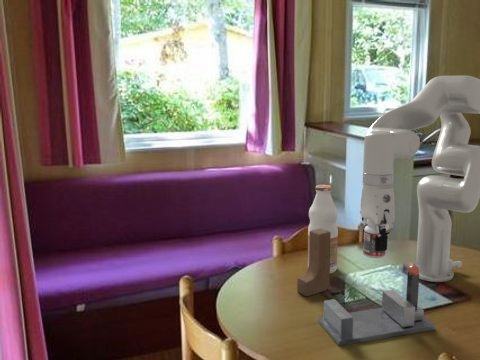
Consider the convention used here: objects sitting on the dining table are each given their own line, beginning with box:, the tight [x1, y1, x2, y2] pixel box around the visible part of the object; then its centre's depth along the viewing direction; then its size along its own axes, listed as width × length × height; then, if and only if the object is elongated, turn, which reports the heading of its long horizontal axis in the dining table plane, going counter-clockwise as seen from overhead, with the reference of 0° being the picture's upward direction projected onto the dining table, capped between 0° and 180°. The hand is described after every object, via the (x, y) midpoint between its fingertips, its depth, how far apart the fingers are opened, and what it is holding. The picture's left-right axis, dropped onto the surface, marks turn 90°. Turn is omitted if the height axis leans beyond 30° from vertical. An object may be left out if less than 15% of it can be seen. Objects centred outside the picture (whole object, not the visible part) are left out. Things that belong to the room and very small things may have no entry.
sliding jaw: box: [381, 264, 425, 327], centre depth 124 cm, size 7×10×14 cm
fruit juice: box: [307, 184, 339, 275], centre depth 157 cm, size 9×9×28 cm
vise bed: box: [317, 298, 436, 347], centre depth 123 cm, size 26×12×6 cm, turn 104°
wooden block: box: [296, 228, 331, 297], centre depth 142 cm, size 9×4×18 cm, turn 122°
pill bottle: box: [362, 219, 386, 259], centre depth 128 cm, size 6×6×10 cm
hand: (374, 245), depth 129 cm, fingers closed on pill bottle, 5 cm apart
